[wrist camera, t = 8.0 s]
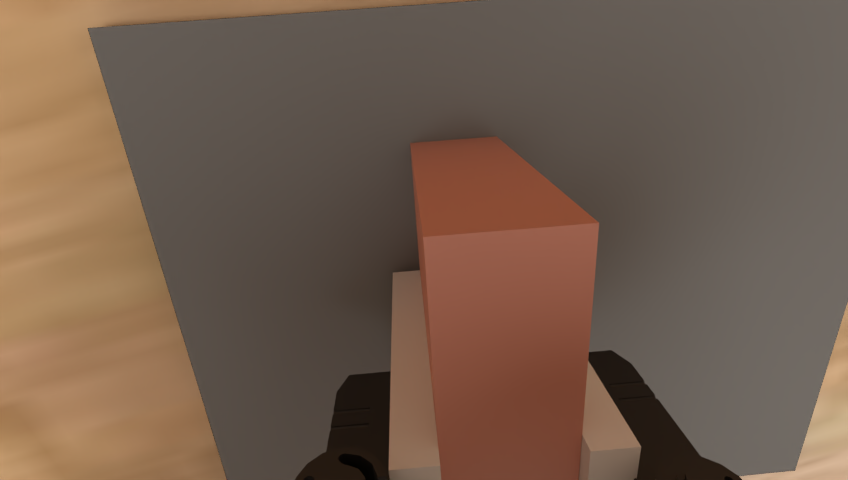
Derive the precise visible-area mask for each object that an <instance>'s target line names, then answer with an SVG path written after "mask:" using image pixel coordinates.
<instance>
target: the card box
mask: <svg viewBox="0 0 848 480" xmlns="http://www.w3.org/2000/svg"><path fill="white" fill-rule="evenodd" d="M410 148H411V161H412V174H413V188H414V201H415V214H416V227H417V240H418V253H419V266H420V276H421V285H422V295H423V305H424V314H425V324H426V334H427V343H428V353H429V363H430V372H431V382H432V392H433V402H434V411H435V421H436V431H437V440H438V448H439V458H440V469H441V480H579V469H580V456H581V444H582V431H583V419H584V406H585V394H586V381H587V369H588V356H589V344H590V331H591V319H592V306H593V294H594V281H595V269H596V256H597V244H598V231H599V222H598V221H596V220H595V219H594V218H593V217H592V216H590V215H589V214H588V213H587V212H586V211H584V210H583V209H582V208H581V207H580V206H579V205H577V204H576V203H575V202H574V201H573V200H571V199H570V198H569V197H568V196H567V195H565V194H564V193H563V192H562V191H561V190H560V189H558V188H557V187H556V186H555V185H554V184H552V183H551V182H550V181H549V180H548V179H546V178H545V177H544V176H543V175H542V174H541V173H539V172H538V171H537V170H536V169H535V168H533V167H532V166H531V165H530V164H529V163H527V162H526V161H525V160H524V159H523V158H522V157H520V156H519V155H518V154H517V153H516V152H514V151H513V150H512V149H511V148H510V147H508V146H507V145H506V144H505V143H504V142H503V141H501V140H500V139H499V138H498V137H497V136H496V137H483V138H469V139H456V140H443V141H430V142H417V143H410Z"/></svg>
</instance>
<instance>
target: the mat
mask: <svg viewBox="0 0 848 480" xmlns="http://www.w3.org/2000/svg"><path fill="white" fill-rule="evenodd" d="M88 31H89V34H90V37H91V40H92V44H93V47H94V50H95V53H96V57H97V60H98V63H99V66H100V70H101V73H102V76H103V79H104V83H105V86H106V89H107V92H108V95H109V99H110V102H111V105H112V108H113V112H114V115H115V118H116V121H117V125H118V128H119V131H120V134H121V138H122V141H123V144H124V147H125V151H126V154H127V157H128V160H129V163H130V167H131V170H132V173H133V176H134V180H135V183H136V186H137V189H138V193H139V196H140V199H141V202H142V206H143V209H144V212H145V215H146V219H147V222H148V225H149V228H150V232H151V235H152V238H153V241H154V244H155V248H156V251H157V254H158V257H159V261H160V264H161V267H162V270H163V274H164V277H165V280H166V283H167V287H168V290H169V293H170V296H171V300H172V303H173V306H174V309H175V313H176V316H177V319H178V322H179V325H180V329H181V332H182V335H183V338H184V342H185V345H186V348H187V351H188V355H189V358H190V361H191V364H192V368H193V371H194V374H195V377H196V381H197V384H198V387H199V390H200V394H201V397H202V400H203V403H204V406H205V410H206V413H207V416H208V419H209V423H210V426H211V429H212V432H213V436H214V439H215V442H216V445H217V449H218V452H219V455H220V458H221V462H222V465H223V468H224V471H225V474H226V478H227V480H295V478H296V477H297V476H298V474H299V473H300V472H301V471H302V469H303V468H304V467H305V466H306V464H307V463H309V462H310V461H312V460H313V459H315V458H316V457H318V456H319V455H320V454H322V453H325V452H326V450H327V444H328V438H329V433H330V431H331V422H332V416H333V414H334V411H333V410H334V405H335V399H336V393H337V391H338V389H339V388H340V387H341V385H342V384H343V383H344V381H345V380H346V379H347V377H348V376H349V375H354V374H366V373H377V372H388V371H391V333H392V286H393V272H405V271H417V270H420V266H419V253H418V240H417V227H416V214H415V201H414V188H413V174H412V161H411V148H410V143H417V142H430V141H443V140H456V139H469V138H483V137H496V136H497V137H498V138H499V139H500V140H501V141H503V142H504V143H505V144H506V145H507V146H508V147H510V148H511V149H512V150H513V151H514V152H516V153H517V154H518V155H519V156H520V157H522V158H523V159H524V160H525V161H526V162H527V163H529V164H530V165H531V166H532V167H533V168H535V169H536V170H537V171H538V172H539V173H541V174H542V175H543V176H544V177H545V178H546V179H548V180H549V181H550V182H551V183H552V184H554V185H555V186H556V187H557V188H558V189H560V190H561V191H562V192H563V193H564V194H565V195H567V196H568V197H569V198H570V199H571V200H573V201H574V202H575V203H576V204H577V205H579V206H580V207H581V208H582V209H583V210H584V211H586V212H587V213H588V214H589V215H590V216H592V217H593V218H594V219H595V220H596V221H598V222H599V231H598V244H597V256H596V269H595V281H594V294H593V306H592V319H591V331H590V344H589V352H595V351H606V350H612V351H614V352H615V353H617V354H618V355H620V356H621V357H622V358H624V359H625V360H627V361H628V362H630V363H631V364H632V365H633V366H634V368H635V369H636V370H637V372H638V373H639V374H640V376H641V377H642V378H643V380H644V382H645V384H647V385H648V386H649V388H650V389H651V390H652V392H653V393H654V394H655V398H656V399H658V400H659V401H660V402H661V404H662V405H663V406H664V408H665V409H666V410H667V412H668V413H669V414H670V416H671V417H672V418H673V420H674V421H675V422H676V424H677V425H678V426H679V428H680V429H681V430H682V432H683V433H684V434H685V436H686V437H687V439H688V440H689V441H690V443H691V444H692V445H693V447H694V448H695V449H696V451H697V452H698V453H699V455H700V456H701V457H704V458H706V459H709V460H711V461H714V462H716V463H719V464H721V465H723V466H724V467H726V468H727V469H729V470H730V471H732V472H733V473H735V474H736V475H738V476H744V475H754V474H764V473H774V472H785V471H795V469H796V466H797V462H798V459H799V456H800V453H801V449H802V446H803V443H804V440H805V437H806V433H807V430H808V427H809V424H810V421H811V417H812V414H813V411H814V408H815V405H816V401H817V398H818V395H819V392H820V388H821V385H822V382H823V379H824V376H825V372H826V369H827V366H828V363H829V360H830V356H831V353H832V350H833V347H834V343H835V340H836V337H837V334H838V331H839V327H840V324H841V321H842V318H843V315H844V311H845V308H846V305H847V302H848V0H480V1H466V2H451V3H437V4H423V5H409V6H395V7H381V8H366V9H352V10H338V11H324V12H310V13H296V14H281V15H267V16H253V17H239V18H225V19H211V20H197V21H182V22H168V23H154V24H140V25H126V26H112V27H97V28H88Z"/></svg>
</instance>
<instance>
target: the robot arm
mask: <svg viewBox="0 0 848 480" xmlns="http://www.w3.org/2000/svg"><path fill="white" fill-rule="evenodd" d="M333 411H334V414H333V416H332V422H331V431H330V433H329V438H328V444H327V450H326V452H325V453H322V454H320V455H319V456H318V457H316V458H315V459H313V460H312V461H310V462H309V463H307V464H306V466H305V467H304V468H303V469H302V471H301V472H300V473H299V474H298V476H297V477H296V478H295V480H441V469H440V458H439V448H438V440H437V431H436V421H435V411H434V402H433V392H432V382H431V372H430V363H429V353H428V343H427V334H426V324H425V314H424V305H423V295H422V285H421V276H420V270H417V271H405V272H393V286H392V333H391V371H388V372H377V373H366V374H354V375H349V376H348V377H347V379H346V380H345V381H344V383H343V384H342V385H341V387H340V388H339V389H338V391H337V393H336V399H335V405H334V410H333ZM579 480H742V479H741V478H740V477H739V476H738V475H736V474H735V473H733V472H732V471H730V470H729V469H727V468H726V467H724V466H723V465H721V464H719V463H716V462H714V461H711V460H709V459H706V458H704V457H701V456H700V455H699V453H698V452H697V451H696V449H695V448H694V447H693V445H692V444H691V443H690V441H689V440H688V439H687V437H686V436H685V434H684V433H683V432H682V430H681V429H680V428H679V426H678V425H677V424H676V422H675V421H674V420H673V418H672V417H671V416H670V414H669V413H668V412H667V410H666V409H665V408H664V406H663V405H662V404H661V402H660V401H659V400H658V399H656V398H655V394H654V393H653V392H652V390H651V389H650V388H649V386H648V385H647V384H645V382H644V380H643V378H642V377H641V376H640V374H639V373H638V372H637V370H636V369H635V368H634V366H633V365H632V364H631V363H630V362H628V361H627V360H625V359H624V358H622V357H621V356H620V355H618V354H617V353H615V352H614V351H612V350H606V351H595V352H589V356H588V369H587V381H586V394H585V406H584V419H583V431H582V444H581V456H580V469H579Z"/></svg>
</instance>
